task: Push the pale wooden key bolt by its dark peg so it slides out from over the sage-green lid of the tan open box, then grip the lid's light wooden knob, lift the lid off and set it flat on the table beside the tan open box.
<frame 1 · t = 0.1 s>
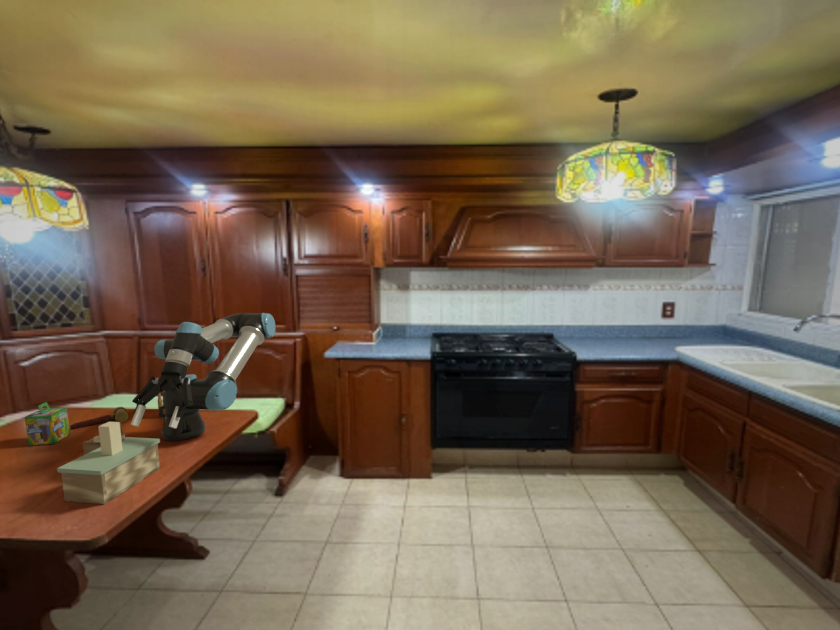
hand: (153, 426, 128), 15 cm above the table, tool tilted 35°, fingers open, 13 cm apart
tan open box: (115, 483, 123), on the table
lid: (113, 459, 122), point 8 cm above the table, touching tan open box
ammunition clip: (172, 415, 181), on the table
gavel: (97, 425, 171), on the table
chalk box: (50, 440, 155), on the table
key bolt: (108, 432, 129), point 13 cm above the table, slide at 0.0 cm
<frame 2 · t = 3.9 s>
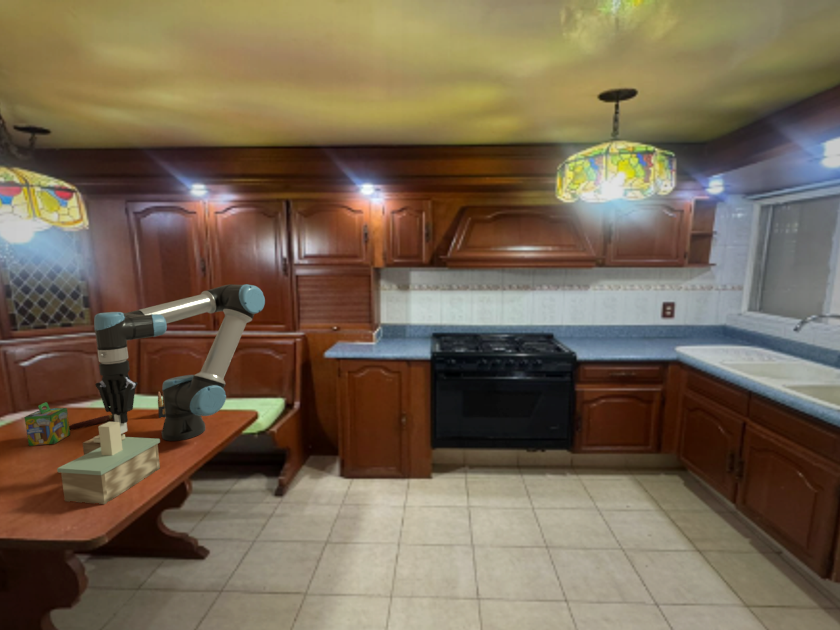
hand: (121, 432, 129), 13 cm above the table, tool pointing down, fingers closed
key bolt: (108, 432, 129), point 13 cm above the table, slide at 0.0 cm, touching gripper
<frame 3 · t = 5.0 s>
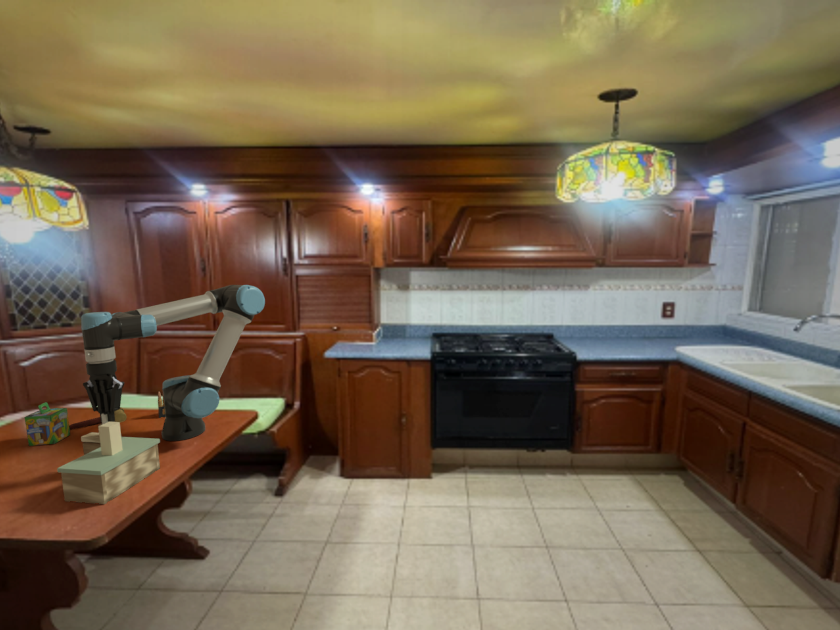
hand: (109, 431, 129), 13 cm above the table, tool pointing down, fingers closed
key bolt: (96, 431, 130), point 13 cm above the table, slide at 4.6 cm, touching gripper
everything else where it was.
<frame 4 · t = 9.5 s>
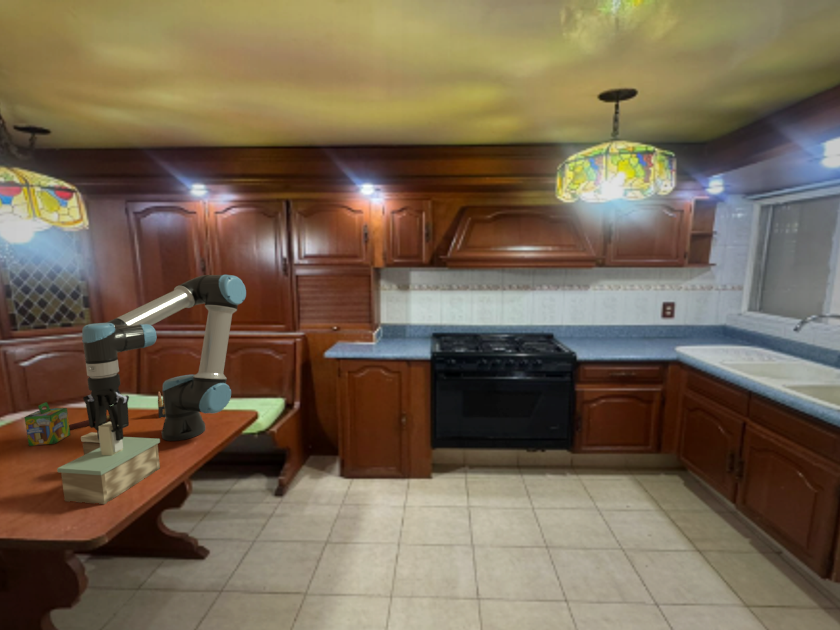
hand: (111, 449, 122), 11 cm above the table, tool pointing down, fingers closed on lid, 4 cm apart
lid: (113, 459, 122), point 8 cm above the table, touching gripper, tan open box
key bolt: (96, 431, 130), point 13 cm above the table, slide at 4.7 cm
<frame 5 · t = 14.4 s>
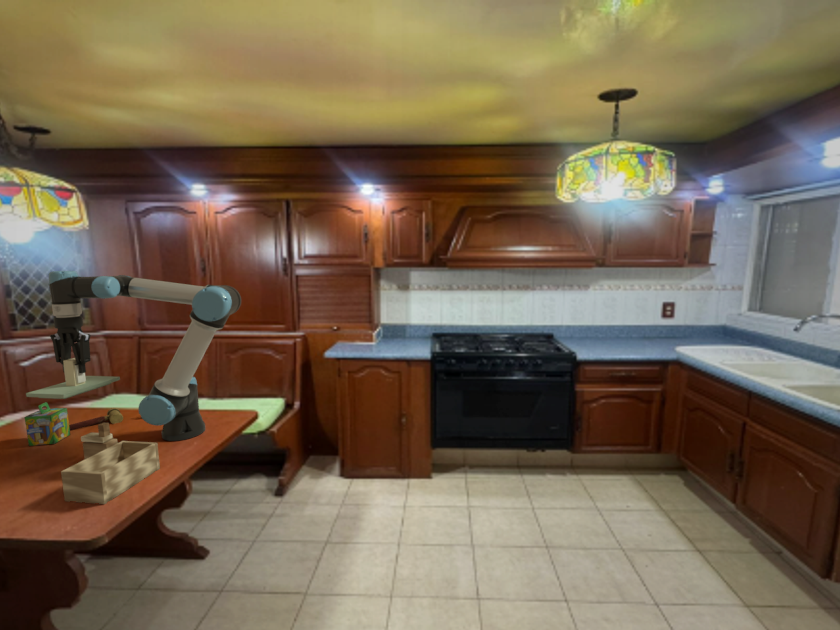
hand: (75, 381, 140), 27 cm above the table, tool pointing down, fingers closed on lid, 4 cm apart
lid: (76, 390, 140), point 24 cm above the table, touching gripper
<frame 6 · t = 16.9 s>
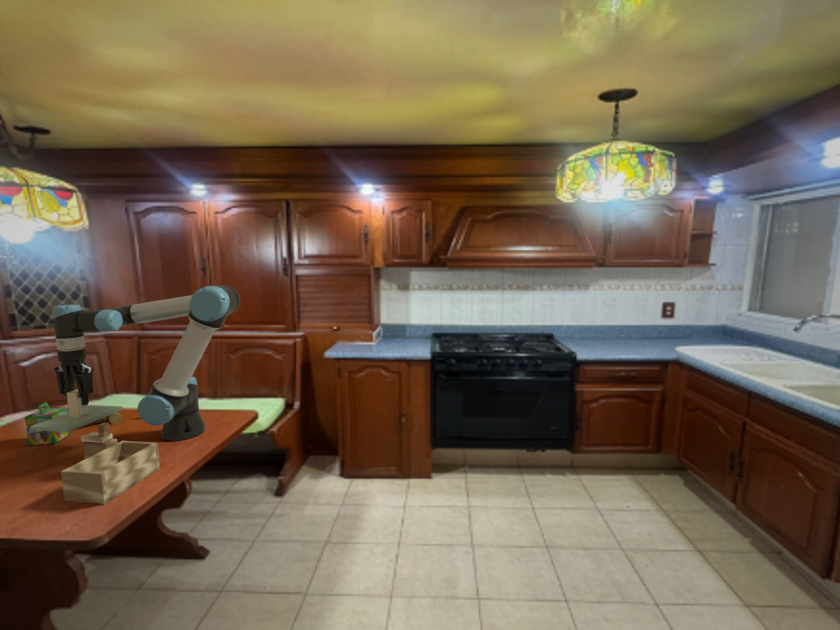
hand: (79, 413, 142), 15 cm above the table, tool pointing down, fingers closed on lid, 4 cm apart
lid: (79, 421, 142), point 12 cm above the table, touching gripper
when the fingers open (5 cm above the table, at t = 19.1 s): lid drops 2 cm, on the table.
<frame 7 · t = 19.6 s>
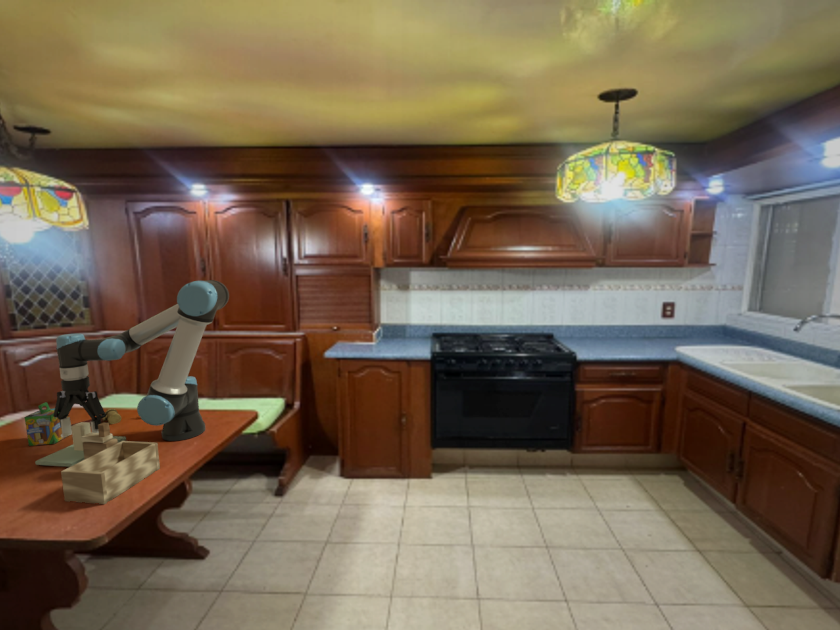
hand: (82, 436, 143), 6 cm above the table, tool pointing down, fingers open, 11 cm apart
lid: (84, 453, 144), on the table
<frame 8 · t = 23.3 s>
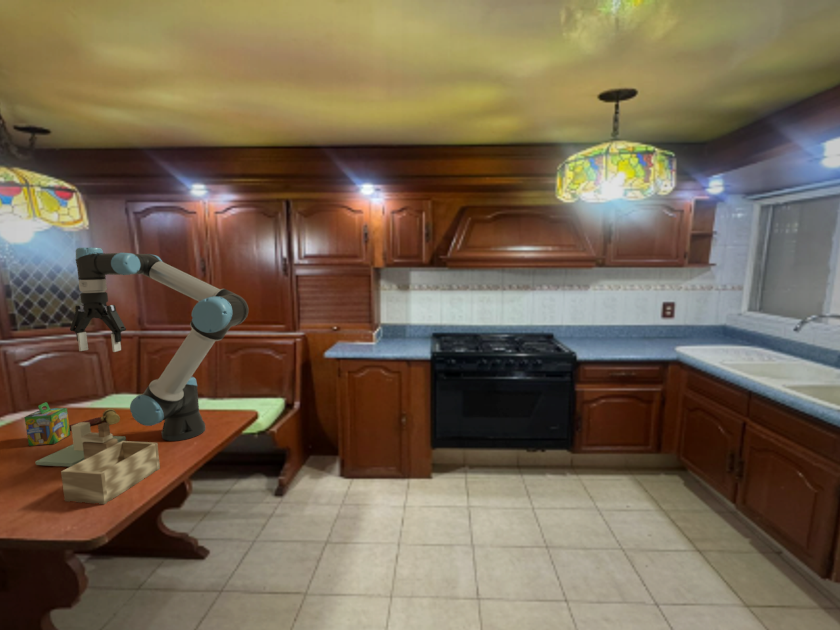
hand: (100, 350, 144), 37 cm above the table, tool pointing down, fingers open, 13 cm apart
at the end: key bolt slide at 4.7 cm; lid inside the target area (0.1 cm from its centre), on the table; lid touching table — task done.
